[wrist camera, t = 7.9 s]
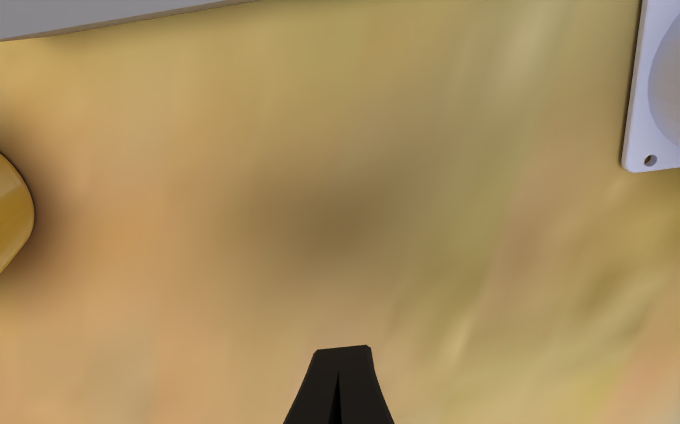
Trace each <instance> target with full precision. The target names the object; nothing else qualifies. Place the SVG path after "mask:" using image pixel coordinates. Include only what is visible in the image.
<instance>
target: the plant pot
mask: <svg viewBox="0 0 680 424" xmlns="http://www.w3.org/2000/svg"><path fill="white" fill-rule="evenodd" d="M33 224H34V207H33V202H32V198H31V195H30V193H29V190H28V188H27V186H26V184H25V182H24V181H23V179H22V177H21V176H20V174H19V173H18V172H17V170H16V169H15V168H14V167H13V166H12V164H11V163H10V162H9V161H8V160H7V159H6V158H5V157H3V156H2V155H1V154H0V274H1V272H2V271H3V270H4V269H5V267H6V266H7V265H8V264H9V263H10V261H11V260H12V259H13V258H14V256H15V255H16V254H17V253H18V251H19V250H20V249H21V248H22V246H23V245H24V244H25V242H26V241H27V240H28V238H29V236H30V234H31V232H32V228H33Z"/></svg>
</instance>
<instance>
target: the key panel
mask: <svg viewBox="0 0 680 424" xmlns="http://www.w3.org/2000/svg"><path fill="white" fill-rule="evenodd" d="M251 1H257V0H0V42H1V41H11V40H20V39H30V38H39V37H47V36H53V35H59V34H65V33H71V32H77V31H82V30H88V29H94V28H100V27H106V26H111V25H117V24H123V23H129V22H135V21H141V20H146V19H152V18H158V17H164V16H170V15H176V14H181V13H187V12H193V11H199V10H205V9H210V8H216V7H222V6H228V5H234V4H240V3H245V2H251Z"/></svg>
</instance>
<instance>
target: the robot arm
mask: <svg viewBox="0 0 680 424" xmlns="http://www.w3.org/2000/svg"><path fill="white" fill-rule="evenodd" d="M649 155H651V159H650V160H649V161H648V162H647V163H644V160H645V158H646V157H648V156H649ZM621 163H622V166H623V168H624V169H626V170H627V171H629V172H631V173H639V172H647V171H655V170H663V169H671V168H678V167H680V0H643V2H642V10H641V17H640V25H639V32H638V40H637V47H636V55H635V62H634V70H633V78H632V85H631V93H630V100H629V108H628V115H627V123H626V130H625V138H624V145H623V153H622V160H621ZM283 424H394V421H393V419H392V417H391V414H390V412H389V409H388V407H387V405H386V402H385V400H384V397H383V395H382V392H381V389H380V386H379V383H378V380H377V377H376V373H375V370H374V364H373V358H372V351H371V348H370V347H368V346H367V345H359V346H350V347H340V348H330V349H320V350H317V351H316V352H315V353H314V354H313V357H312V360H311V362H310V365H309V368H308V370H307V373H306V375H305V378H304V380H303V382H302V385H301V387H300V389H299V391H298V394H297V396H296V398H295V400H294V402H293V404H292V406H291V408H290V410H289V412H288V414H287V416H286V418H285V421H284V423H283Z"/></svg>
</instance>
